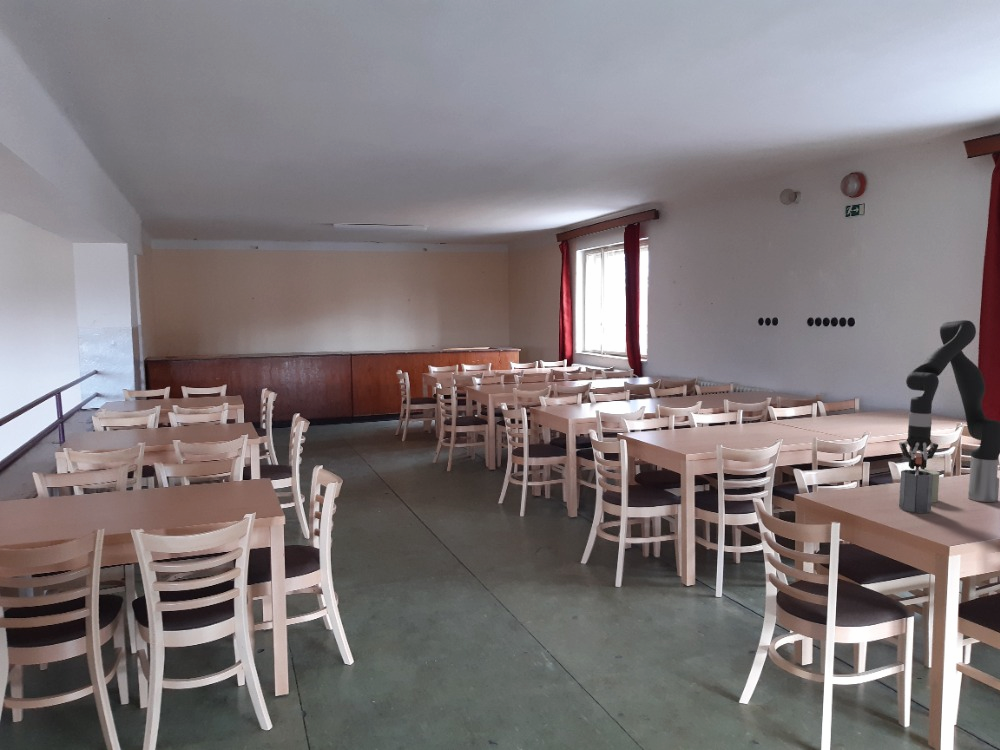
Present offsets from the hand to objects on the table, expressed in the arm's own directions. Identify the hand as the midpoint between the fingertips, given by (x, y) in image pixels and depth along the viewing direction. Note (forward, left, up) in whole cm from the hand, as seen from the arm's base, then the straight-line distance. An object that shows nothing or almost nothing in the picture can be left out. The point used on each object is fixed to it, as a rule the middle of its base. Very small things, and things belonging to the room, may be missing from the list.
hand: (917, 468), depth 277 cm
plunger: (0, 0, -16) cm, 16 cm away
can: (-11, -17, -16) cm, 26 cm away
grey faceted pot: (0, -1, -16) cm, 16 cm away
